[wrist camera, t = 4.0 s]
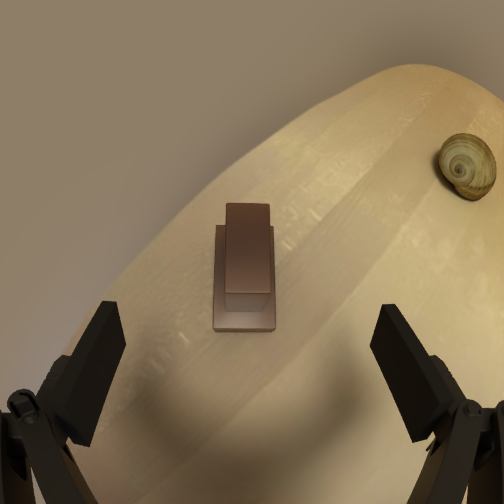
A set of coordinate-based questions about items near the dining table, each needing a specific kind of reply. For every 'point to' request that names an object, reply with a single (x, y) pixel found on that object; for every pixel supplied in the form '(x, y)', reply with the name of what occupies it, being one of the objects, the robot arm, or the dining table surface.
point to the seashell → (468, 165)
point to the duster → (244, 270)
